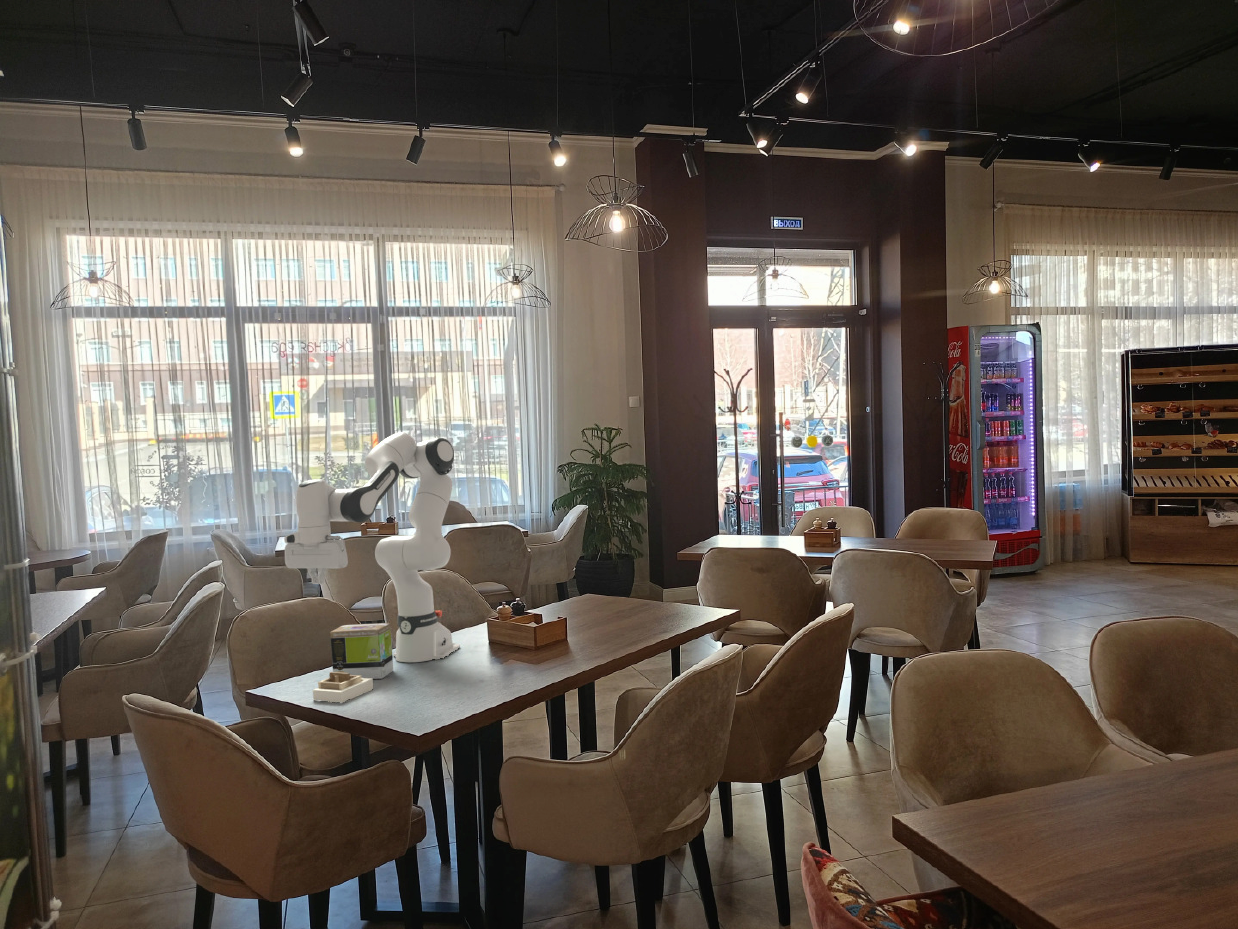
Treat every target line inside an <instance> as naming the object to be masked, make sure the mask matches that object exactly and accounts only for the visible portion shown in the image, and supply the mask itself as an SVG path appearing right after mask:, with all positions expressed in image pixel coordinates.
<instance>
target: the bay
mask: <svg viewBox="0 0 1238 929" xmlns="http://www.w3.org/2000/svg"><path fill="white" fill-rule="evenodd" d="M361 680H362V681H361V682H358V683H356V684H354V685H351V686H349V687H346V688H344V689H342V690H332V689H319V688H318V687H317V688H314V689H312V698H313V699H314V700H321V701H328V702H327V703H332V702H341V703H340V704H343V703H342V702H344V701H346V700H348V699H350V700H353V699H354V698H357V697H358V696H361V695H363V693H364V694H366V693H368V692H370V691H372V689H373V690H374V683H373V682H374V679H371V678H361ZM329 701H330V702H329ZM331 701H332V702H331ZM348 701H349V700H348ZM346 702H347V701H346ZM344 703H345V702H344Z"/></svg>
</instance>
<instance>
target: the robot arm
mask: <svg viewBox="0 0 1238 929" xmlns="http://www.w3.org/2000/svg"><path fill="white" fill-rule="evenodd" d="M454 460H455V451H454V447H453V445H452V444H451V442H450V441H449V440H448V439H446V438H443V437H433V438H431V439H428V440H427V439H426V440H423V441H420V442H416V441H415V439H414V438H413V437H412V436H411V435H410V434H409V433H406V432H404V431H399V432H395V433H393V434H391V435H390V436H388V437H386V438H384V439H383V440H382V441H380V442H379V443H378V444H377V445H376V446H374V447H372V449H371V450H370V451H368V454H367V455H366V456H365V460H364V467H365V470H366V472H367V474H368V475H369V477H370V479H369V480H368V482H367V483H366V484H365V485H363V486H360V487H354V488H337V487H335V486H332V485H331V484H328V482H326V480H325V479H323V478H314V479H313V478H312V479H308V480H305V481H302V482H300V483H299V484H298V485H297V489H296V496H295V498H296V503H295V504H296V505H295V506H296V513H297V516H298V524H297V531H294V532H292V533H290V534H287V535H286V536H284V543H285V544H286V545H285V546H284V563H285V566H286V567H287V568H288V569H307V570H306V571H307V575H309V577H310V579H311V584H312V585H323V584H324V582H325V579H324V578H325V576H326V575H327V574H326V573H327V571H328V570H329V569H333V570H334V569H343V568H347V567H348V564H349V560H348V559H349V558H348V553H347V548H346V543H345V539H344V538H343V537H341V536H340V535H332V534H331V533H332V532H331V529H332V528H331V522H350V523H352V522H353V523H359V524H360V523H365V522H367V521H369V520H370V519H371V518H372V516H373V514H374V512H375V511H376V509H377V507H378V505H379V503H380V502H381V500H382V499H383V498H384V497H385V495H387V493H388V492H389V491H390V489H391V488H392V487H393V486H394V484H395V483H396V481H398V478H399V477H400V475H401V476H402V477H404V478H405V479H418V478H419V481H420V482H419V487H418V489H417V491H416V494H415V496H414V499H413V500H412V501H413V502H412V504H411V507H410V509H409V512H408V515H407V516H408V521H409V523H410V524H411V526H412V527H414V528H415V532H414V534H412V535H393V536H388V537H384V538H381V539H380V540H379V541H378V543H377V544H376V546H375V550H374V556H375V561H376V562H377V564H378V566H379V567H381V568H382V569H383V570H385V572H386V573H387V575H388V576H389V577H390V579H391V581H392V583H393V585H394V590H395V593H396V601H397V611H398V612H397V613H398V614H397V615H396V623H397V627H398V629H397V630H396V635H395V636H396V637H395V638H396V639H395V652H394V653H393V657H394V656H395V657H394V658H395V660H396V661H397V662H401V663H420V662H427V661H433V660H432V659H435V660H441V659H440V658H443V659H445V658H446V657H445V656H447V657H448V656H450V655H451V654H452V653H451V652H453V651H454V650H456V651H457V650H459V649H460V648H461V645H460V644H458V643H453V637H452V632H451V631H450V629H448V628H447V627H446V626H444V625H442V623H441V622H439V619H438V617H439V618H441V617H442V616H443V612H442V610H435V609H434V607H435V606H434V593H433V592H434V591H433V590H434V589H433V587H432V585H431V584H430V583H429V582H427V581H425V580H424V579H423V577H421V575H420V574H419V571H431V570H437V569H441V568H444V567H446V566H447V564H448V563H449V561H450V559H451V556H452V555H451V552H452V550H451V546H450V544H449V542H448V541H447V540H446V538H445V536H444V535H443V533H442V527H443V521H444V518H445V516H446V512H447V509H448V506H449V503H450V500H451V496H452V490H453V481H452V479H451V477H450V476H449V475H448V474H449V473H450V472H451V471H452V469H453V463H454ZM414 528H413V529H414ZM327 569H328V570H327ZM316 571H317V573H318V575H317V573H316ZM459 647H460V648H459ZM458 648H459V649H458ZM454 652H455V651H454ZM454 652H453V653H454ZM450 653H451V654H450ZM449 654H450V655H449ZM444 657H445V658H444Z"/></svg>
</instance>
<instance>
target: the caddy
mask: <svg viewBox="0 0 1238 929" xmlns="http://www.w3.org/2000/svg"><path fill="white" fill-rule="evenodd" d="M328 674H329V675H328V676H329V677H327V678H325V679H321V680H320V681H318V682H317V684H318V685H317V688H319V689H332V690H342V689H344V688H346V687H349V686H351V685H354V684H356V683H358V682H361V681H362V680H361V676H358V675H350V674H349V673H343V672H333V671H330V672H329V673H328Z"/></svg>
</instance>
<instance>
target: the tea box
mask: <svg viewBox="0 0 1238 929" xmlns="http://www.w3.org/2000/svg"><path fill="white" fill-rule="evenodd" d="M391 632H392V631H391V623H390V622H383V623H382V622H381V623H360V624H344V625H341V626H339V627H337V628H336V629H333V630H332V631H330V632H329V634H330V635H329V636H330V637H329V639H330V649H331V664H332V672H343V673H349V674H350V675H358V676H361V678H371V679H373V680H376V679H378V680H379V679H382V680H383V679H384V678H385V677H386V676H389V674H390V673H392V672H393V671H394V660H393V659H394V654H393V646H392V644H393V643H392V633H391Z"/></svg>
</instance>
